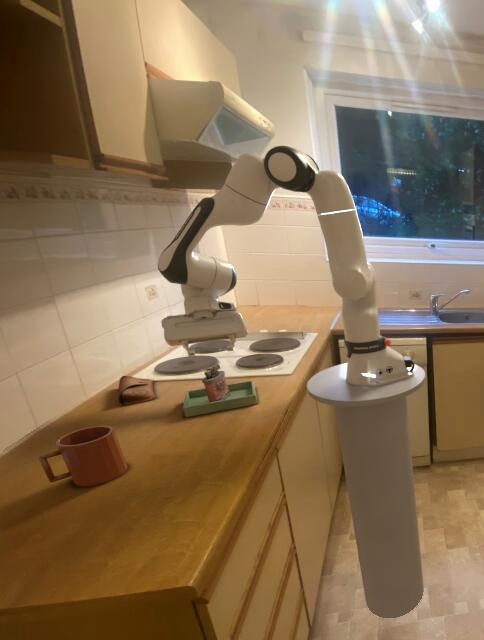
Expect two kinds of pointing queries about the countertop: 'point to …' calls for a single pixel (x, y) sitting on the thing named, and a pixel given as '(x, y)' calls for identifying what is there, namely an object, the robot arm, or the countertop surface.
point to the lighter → (215, 384)
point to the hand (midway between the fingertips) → (211, 352)
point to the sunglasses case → (135, 390)
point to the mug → (88, 456)
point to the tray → (238, 397)
